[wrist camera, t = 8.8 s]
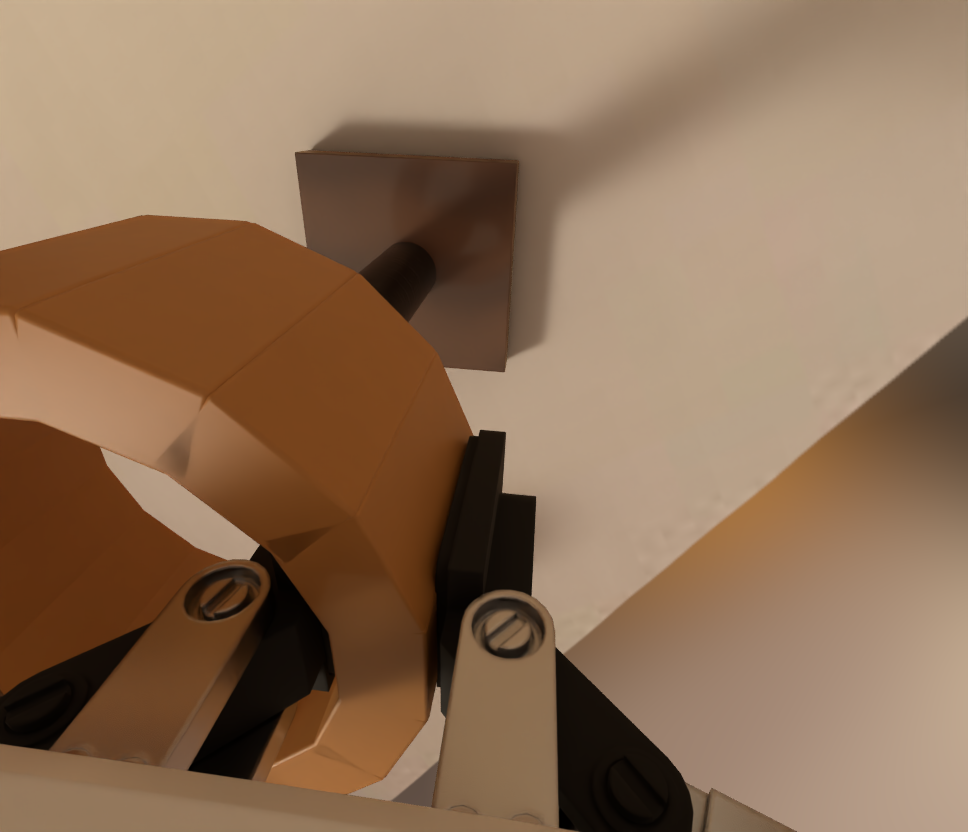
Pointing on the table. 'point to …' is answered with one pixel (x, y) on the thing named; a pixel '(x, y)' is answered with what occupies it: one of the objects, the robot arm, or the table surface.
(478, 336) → the hook base
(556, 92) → the table surface
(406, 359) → the tape roll
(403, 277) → the hook peg
